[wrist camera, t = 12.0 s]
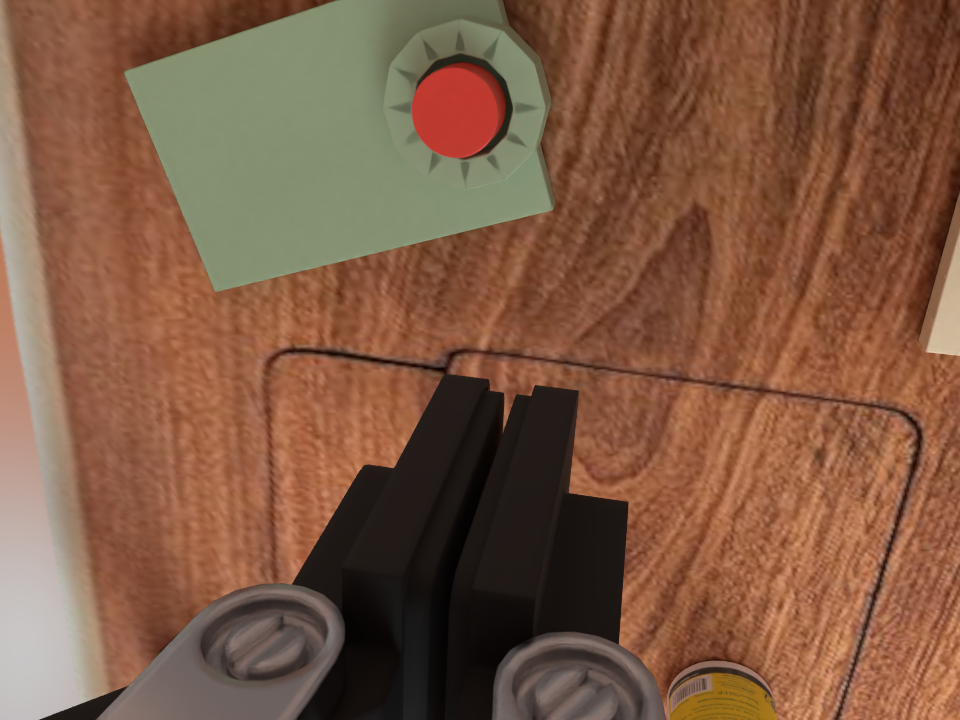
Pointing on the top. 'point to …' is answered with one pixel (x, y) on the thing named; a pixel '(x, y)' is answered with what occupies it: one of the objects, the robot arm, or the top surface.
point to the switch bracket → (945, 298)
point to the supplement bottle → (719, 694)
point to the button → (458, 109)
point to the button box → (339, 135)
